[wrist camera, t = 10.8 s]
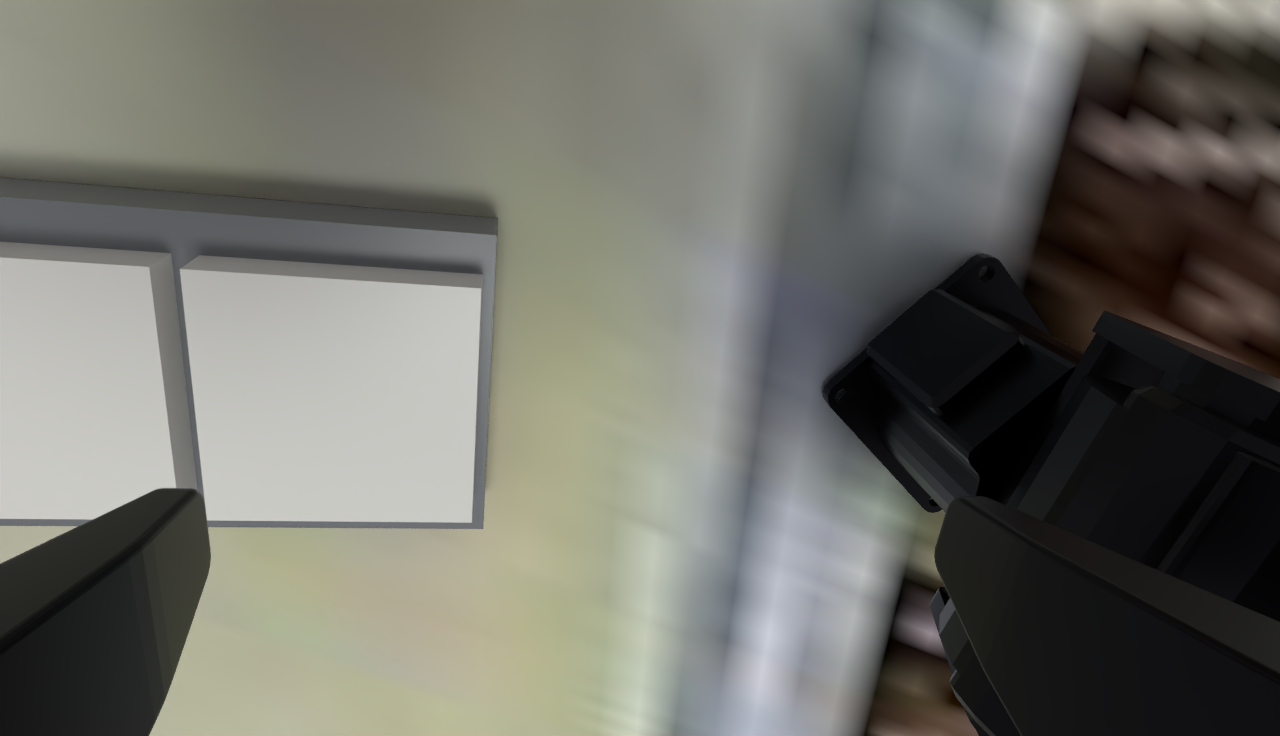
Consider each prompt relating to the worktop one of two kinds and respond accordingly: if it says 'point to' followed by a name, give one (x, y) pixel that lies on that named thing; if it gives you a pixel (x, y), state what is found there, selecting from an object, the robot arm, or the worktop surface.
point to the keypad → (242, 358)
